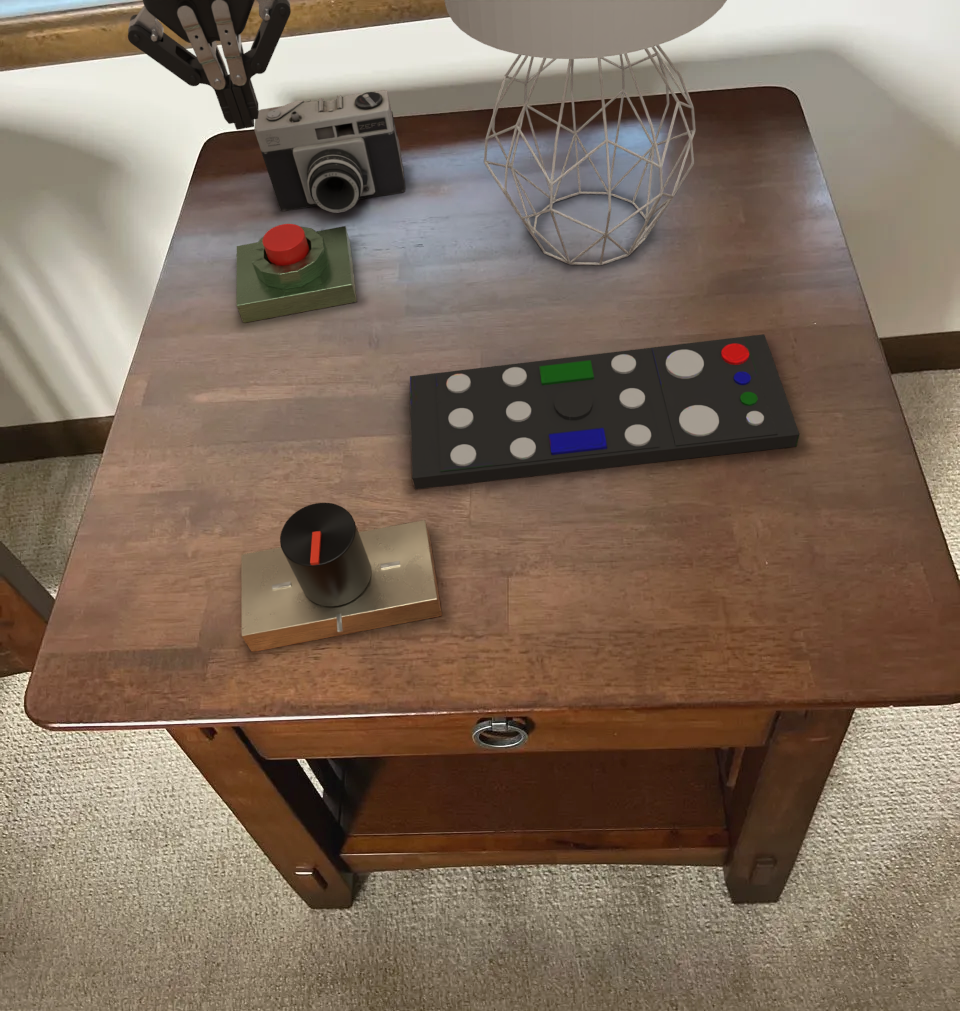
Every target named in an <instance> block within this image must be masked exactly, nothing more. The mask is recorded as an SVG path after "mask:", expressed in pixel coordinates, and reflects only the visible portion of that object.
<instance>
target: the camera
mask: <svg viewBox="0 0 960 1011" xmlns="http://www.w3.org/2000/svg"><path fill="white" fill-rule="evenodd" d="M389 96H390V95H389V92H388V90H386V89H379V90H374V91H365V92H361V93H355V94H348V95H343V96H342V95H341V94H339V95H336V98H335V99H330V100H324V97H320V98H319V99H318V100H311V99H307V100H303V99H301V100H294V101H291V102H289V103H287V104H285V105H281V106H280V105H279V106H274V107H268V108H262V109H259V114H258V119H254V127H253V128H254V133H255V136H256V139H257V143H258V146H259V149H260V153H261V156H262V159H263V162H264V165H265V168H266V171H267V173H268V177H269V180H270V183H271V186H272V189H273V192H274V195H275V198H276V201H277V204H278V207H279V210H280V211H281V212H284V211H285V212H286V211H293V210H298V209H304V208H312V207H319V208H320V209H322V210H323V211H326V212H329V213H335V214H337V213H338V214H339V213H344V212H347V211H349V210H351V209H353V207H355V206H356V205H357V204H358V202H359V200H364V199H370V198H377V197H383V196H389V195H395V194H400V193H401V194H402V193H405V191H406V181H405V170H404V169H405V168H404V165H403V159H402V151H401V145H400V140H399V136H398V132H397V129H396V123H395V118H394V113H393V110H392V107H391V101H390V97H389Z"/></svg>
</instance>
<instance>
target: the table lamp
mask: <svg viewBox="0 0 960 1011" xmlns="http://www.w3.org/2000/svg"><path fill="white" fill-rule="evenodd" d="M727 1H728V0H444V4H445V9H446V12H447V14H448V16H449V18H450V19H451V21H452V23H453V24H454V25H455V26H456V27H457V28H458V29H459V30H460V31H462V33H464V34H466V35H467V36H469V37H470V38H471V39H474V40H476V41H478V42H479V43H481V44H483V45H486V46H488V47H490V48H494V49H496V50H499V51H503V52H506V53H511V54H514V55H517V57H515V59H514V61H513V62H512V64H511V65H510V66H509V68H508V70H507V71H506V73H505V74H504V77H503V78H502V82H501V85H500V88H499V90H498V93H497V96H496V99H495V102H494V105H493V107H492V109H493V110H492V116H491V119H490V122H489V126H488V129H487V132H486V136H485V138H484V149H483V150H484V152H483V163H484V165H485V168H487V170H488V171H489V173H490V175H491V176H492V178H493V179H494V180H495V183H496V185H497V186H498V187H499V189H500V190H501V192H502V194H503V195H504V197H505V198H506V199H507V201H508V203H509V204H510V206H511V207H512V209H513V210H514V211H515V213H516V214H517V216H518V217H519V219H520V220H521V222H522V223H523V225H524V226H525V228H526V229H527V232H528V233H529V234H530V235H531V236H532V238H533V239H534V241H535V242H536V244H537V246H538V247H539V249H540V250H541V251H542V253H543V254H544V255H547V256H549V257H551V258H553V259H555V260H558V261H560V262H563V263H564V264H567V265H576V266H577V265H579V266H580V265H581V266H603V265H606V264H609V263H613V262H614V261H617V260H620V259H623V258H628V257H629V256H630V255H631V254H633V252H634V251H636V250H637V248H638V247H640V246H641V244H643V242H645V241H646V239H647V237H648V236H649V235H650V233H651V231H652V230H653V229H654V228H655V226H656V225H657V223H658V221H659V220H660V218H661V217H662V216H663V214H664V212H665V211H666V210H667V208H668V207H669V205H670V204H671V202H672V201H673V199H674V198H675V195H676V194H677V192H678V191H679V189H680V188H681V186H682V184H684V181H685V179H686V178H687V176H688V175H689V173H690V171H691V170H692V169H693V167H694V165H695V156H694V146H693V139H694V137H695V134H696V132H697V131H696V130H697V129H696V118H695V107H694V104H693V101H692V100H691V97H690V93H689V91H688V89H687V86H686V83H685V81H684V78H683V74H681V72H680V71H679V70H678V68H677V67H676V66H675V64H674V63H673V62H672V60H671V59H670V58H669V56H668V55H667V54H666V52H665V51H664V49H663V48H662V46H660V45H662V44H665V43H667V42H670V41H671V42H672V41H673V40H675V39H678V38H680V37H682V36H684V35H686V34H689V33H690V32H692V31H693V30H695V29H697V28H698V27H701V26H702V25H703V24H705V23H706V22H707V21H709V20H710V19H711V18H712V17H714V16H715V15H716V14H717V13H718V12H719V11H720V10H721V9H722V8H723V6H724V5H725V4H726V3H727ZM650 48H651V49H652V51H653V52H654V53H651V51H650V50H649V49H650ZM643 50H644V51H645V53H646V54H647V56H645V57H642V58H641V59H639V60H636V61H634V62H632V63H631V61H630V58H629V55H628V54H630V53H635V52H638V51H643ZM618 55H619V60H620V61H619V62H620V65H619V64H618V63H616V62H614V61H612V60H609V59H608V57H615V56H618ZM661 55H662V56H661ZM522 56H524V58H523V59H522V61H521V63H520V64H519V66H518V68H517V69H516V71H515V73H514V74H513V76H512V77H511V76H509V75H510V74H511V72H512V70H513V69H514V68H515V66H516V64H517V63H518V61H519V60H520V59H521V57H522ZM623 56H624V59H625V61H626V63H627V65H625V64H624V59H623ZM529 57H530V61H529V65H528V68H527V73H526V77H525V80H521V79H518V78H517V76H518V74H519V72H520V71H521V69H522V68H523V66H524V64H525V63H526V62H527V59H528V58H529ZM655 57H656V58H657V61H658V63H657V62H656V59H655ZM663 57H664V58H663ZM534 58H541V59H542V60H541V63H540V65H539V68H538V70H537V71H536V72H535V73H534V74H533V75H532V76H531V77H530V74H531V70H532V66H533V63H534ZM547 59H549V60H550V61H548V62H547V63H546V61H547ZM583 59H586V60H587V59H597V67H598V77H599V86H600V87H599V88H600V89H599V90H600V97H601V98H600V100H601V108H600V109H599V110H598V111H597V112H595V113H594V114H593V115H592V116H591V117H590V118H588V120H587V121H586V122H584V123H583V124H582V125H581V126H580V127H579V128H578V129H577V124H576V110H575V99H574V97H575V95H574V64H575V63H574V62H575V60H583ZM664 59H665V60H664ZM557 60H568V63H567V69H566V75H565V80H564V86H563V91H562V98H561V103H560V107H559V108H560V109H559V115H558V119H557V121H556V120H555V119H553V118H551V117H550V116H548V115H546V114H544V113H543V112H541V111H540V110H537V108H536V109H535V108H534V107H533V106H531V105H528V103H529V101H530V99H531V97H532V94H533V92H534V90H535V87H536V86H537V85H536V84H537V83H538V80H539V77H540V75H541V73H542V72H543V71H544V70H545V69H547V68H548V67H549V66H550V65H552V64H553V63H554V62H555V61H557ZM647 60H650V61H651V63H652V64H653V66H654V68H655V69H656V70H657V73H658V74H659V77H660V78H661V80H662V81H663V83H664V84H665V98H666V105H665V109H664V111H663V114H662V117H661V119H660V123H659V126H658V128H657V132H656V133H655V129H654V125H653V121H652V119H651V116H650V113H649V110H648V108H647V106H646V102H645V100H644V96H643V94H642V91H641V88H640V86H639V83H638V79H637V77H636V75H635V71H634V69H633V66H636V65H638V64H641V63H643V62H646V61H647ZM602 61H605V62H607V63H608V64H610V65H612V66H614V67H616V68H618V69H619V70H621V86H622V87H621V88H622V89H621V90H620V91H619V92H617V93H616V94H615V95H614V96H613V97H612V98H610V100H609V101H608V102H606V103H605V91H604V79H603V69H602ZM665 61H667V63H668V65H670V67H671V68H672V69H673V71H674V72H675V74H676V75H677V76H678V78H679V82H680V83H679V82H678V80H677V79H676V78H675V76H674V74H673V73H672V71H671V69H670V68H669V67H668V65H667V63H666V62H665ZM658 64H659V65H658ZM627 69H629V72H630V75H631V77H632V80H633V82H634V86H635V89H636V92H637V94H638V96H639V99H640V102H641V105H642V107H643V110H644V113H645V116H646V118H647V121H648V124H649V127H650V132H651V136H650V134H649V132H648V130H647V128H646V126H645V124H644V122H643V121H642V119H641V117H640V115H639V113H638V111H637V110H636V107H635V106H634V104H633V102H632V100H631V98H630V96H629V94H628V93H627V90H626V84H625V82H626V81H625V70H627ZM665 70H666V72H667V73H668V75H669V77H670V78H671V80H672V81H673V83H674V84H675V86H676V88H677V89H678V90H679V91H680V94H681V95H682V96H683V98H684V100H685V102H686V103H685V102H683V101H680V100H679V98H678V96H677V94H676V93H675V91H674V89H673V88H672V86H671V85H670V83H669V81H668V77H667V75H666V72H665ZM507 79H508V80H510V81H509V82H508V84H507V86H506V87H505V84H506V82H507ZM532 80H533V82H532V84H531V87H530V90H529V92H528V84H529V83H530V82H531V81H532ZM569 80H570V100H571V114H572V126H573V130H572V129H570V127H569V128H568V127H567V126H565V125H564V124H562V119H563V115H564V114H563V113H564V107H565V102H566V96H567V90H568V84H569ZM513 82H516V83H520V84H523V85H524V90H523V91H524V96H523V106H522V108H521V111H520V112H519V113H520V114H519V116H518V118H517V121H516V123H515V124H514V125H512V126H510V127H508V128H505V129H503V130H500V131H498V132H496V131H495V128H496V125H495V124H496V116H497V113H498V110H499V107H500V105H501V103H502V101H503V99H504V97H505V96H506V94H507V93H508V91H509V89H510V87H511V86H512V84H513ZM680 84H681V85H680ZM681 86H682V87H681ZM504 87H505V89H504ZM670 94H671V96H672V97H673V99H674V101H675V102H676V103H675V107H674V111H673V114H672V119H671V122H670V126H669V130H668V133H667V136H666V139H665V140H662V141H660V142H657V141H658V139H659V136H660V132H661V129H662V127H663V124H664V121H665V118H666V115H667V113H668V109H669V106H670ZM620 95H621V97H620V104H619V112H618V120H617V126H616V132H615V138H614V141H612V140H609V134H608V123H607V113H606V108H607V107H608V106H609V105H610V104H611V103H613V101H615V100H616V99H617V98H618V97H619V96H620ZM624 97H625V98H626V100H627V101H628V104H629V105H630V107H631V109H632V111H633V113H634V115H635V117H636V119H637V121H638V122H639V124H640V127H641V128H642V130H643V132H644V134H645V136H646V137H647V139H648V141H649V144H650V145H651V146H650V147H649V149H648V150H646V151H645V153H644V154H643V155H640V154H638V153H636V152H634V151H632V150H631V149H628V148H626V147H624V146H622V145H620V144H618V141H619V136H620V135H619V134H620V128H621V127H620V126H621V120H622V112H623V104H624ZM682 106H683V107H686V108H688V109H690V112H691V124H692V129H691V130H690V128H689V125H688V122H687V119H686V116H685V113H684V110H683V108H682ZM529 110H530V111H532V112H534V113H536V114H537V115H539V116H541V117H542V118H544V119H546V120H548V121H549V122H551V123H553V124H555V125H556V130H555V131H556V132H555V137H554V145H553V156H552V164H551V174H550V176H549V175H548V173H547V170H546V167H545V163H544V160H543V157H542V153H541V151H540V147H539V144H538V140H537V137H536V133H535V130H534V127H533V122H532V119H531V115H530V112H529ZM678 110H679V113H680V116H681V119H682V121H683V124H684V127H685V130H686V132H683V133H680V134H678V135H675V136H672V132H673V128H674V125H675V121H676V118H677V113H678ZM525 113H526V116H527V120H528V124H529V127H530V128H529V129H530V131H531V133H532V135H531V136H532V138H533V141H534V145H535V148H536V151H537V155H538V156H537V155H536V153H535V151H534V149H533V148H532V146H531V145H530V143H529V141H528V140H527V138H526V136H525V134H524V133H523V131H522V127H523V121H524V117H525ZM600 113H602V119H603V120H602V122H603V131H604V140H603V141H602V142H601V143H599V144H598V145H597V146H595V148H593V149H592V150H590V151H589V152H588V151H587V150H586V147H585V146H584V145H583V142H582V140H581V139H580V137H579V135H578V133H580V132H581V131H582V130H583V129H584V128H585V127H586V126H587V125H588V124H590V122H592V121H593V120H594V119H595V118H596V117H597V116H598V115H599V114H600ZM561 128H562V129H563V130H565V131H567V132H569V133H571V134H572V138H571V141H570V143H569V148H568V150H567V154H566V156H565V159H564V163H563V167H562V169H561V172H560V176H558V177H557V178H555V168H556V162H557V151H558V142H559V135H560V129H561ZM512 130H513V133H512V138H511V142H510V146H509V150H508V154H507V153H506V151H505V149H504V147H503V145H502V143H501V140H500V139H499V135H502V134H505V133H507V132H509V131H512ZM491 131H492V134H491ZM685 136H688V139H687V141H686V142H685V144H684V147H683V149H682V151H681V153H680V155H679V157H678V159H677V160H676V162H675V164H674V166H673V168H672V170H671V171H670V173H669V175H668V177H667V179H666V180H665V182H664V180H663V166H664V162H665V159H666V156H667V151H668V147H669V144H670V142H672V141H674V140H676V139H679V138H682V137H685ZM520 137H521V138H522V140H523V141H524V143H525V145H526V147H527V148H528V150H529V152H530V153H531V155H532V157H533V158H534V160H535V162H536V163H537V165H538V167H539V169H540V170H541V172H542V174H543V175H544V177H545V181H546V184H547V187H548V192H549V194H548V193H547V192H546V191H544V190H543V189H542V188H540V187H539V186H537V184H535V183H534V182H533V181H531V180H530V179H529V178H527V177H526V175H523V174H522V173H521V172H520V171H519V170H517V169H516V168H515V167H514V162H515V158H516V154H517V150H518V145H519V140H520ZM651 137H652V138H651ZM493 138H495V140H496V142H497V144H498V146H499V148H500V150H501V153H502V154H503V156H504V158H505V160H506V162H505V164H504V163H498V162H495V161H490V160H487V159H488V147H489V146H488V144H489V140H491V139H493ZM578 144H579V145H580V147H581V149H582V150H583V152H584V156H583V157H582V158H581V159H580V160H579V151H578ZM609 144H610V145H612V146H614V147H613V154H612V159H611V167H610V150H609V148H610V147H609ZM573 145H574V146H575V147H574V150H575V160H576V161H575V164H573V165H572V166H571V167H569V168H568V169H567V170H566V167H567V164H568V162H569V158H570V154H571V151H572V148H573ZM604 145H605V157H606V174H607V186H606V184H605V181H604V180H603V178H602V176H601V175H600V172H599V171H598V169H597V168H596V166H595V164H594V162H593V160H592V158H591V156H592V155H593V154H594V153H596V152H597V151H598V150H599V149H600V148H601V147H603V146H604ZM661 145H664V149H663V152H662V155H661V156H660V152H659V147H658V146H661ZM617 148H618V149H620V150H622V151H624V152H626V153H628V154H630V155H632V156H634V157H635V158H638V160H637V161H636V162H635V163H634V164H633V165H632V166H631V167H630V168H629V170H628V171H626V172H625V174H624V175H622V177H621V178H620V179H619V180H618V181H617V182H616V183H615V184H613V186H612V181H613V175H614V167H615V160H616V154H617ZM689 152H690V161H691V163H690V165H689V166H688V168H687V170H686V171H685V173H684V175H683V176H682V174H683V170H684V168H685V164H686V161H687V159H688V155H689ZM647 155H648V157H647V158H646V156H647ZM655 156H656V159H657V163H656V162H654V159H655ZM538 157H539V158H538ZM682 158H683V159H682ZM586 159H587V160H588V162H589V163H590V165H591V167H592V169H593V170H594V171H595V174H596V175H597V178H598V180H599V181H600V182H601V185H602V187H603V188H604V190H605V191H582V190H581V188H582V187H581V177H580V176H581V175H580V164H582V163H583V162H584V161H585V160H586ZM681 160H682V162H681V166H680V169H679V172H678V174H677V176H676V180H675V184H674V186H673V189H672V193H671V194H669V193H667V192H664V191H665V190H666V187H667V185H668V184H669V182H670V180H671V178H672V176H673V175H674V173H675V171H676V170H677V168H678V166H679V163H680V161H681ZM642 161H644V162H645V165H644V168H643V170H642V172H641V173H642V174H641V176H640V179H639V181H638V184H637V186H636V190H635V192H634V195H633V198H632V200H631V199H628V198H625V197H623V196H620V195H617V194H615V193H612V192H613V191H614V190H615V189H616V188H617V187H618V186H619V185H620V184H621V182H622V181H623V180H624V179H626V177H627V176H628V175H629V174H631V172H632V171H633V170H634V169H635V168H636V167H637V166H638V165H639V164H640V163H641V162H642ZM649 164H650V168H649V175H648V176H649V178H648V187H647V196H646V197H647V198H646V203H645V204H643V205H642V206H641V207H639V206H638V205H637V203H635V201H636V198H637V197H638V193H639V191H640V188H641V185H642V183H643V179H644V177H645V174H646V172H647V169H648V166H649ZM490 165H491V166H496V167H501V168H505V169H504V186H503V185H502V183H501V181H500V180H499V179H498V177H497V176H496V174H495V172H494V171H493V169H492V167H491V166H490ZM654 167H655V168H658V170H659V171H658V172H659V189H660V191H659V193H658V194H657V195H656V196H653V198H651V189H652V180H653V179H652V178H653V169H654ZM575 168H576V173H577V174H576V175H577V182H578V183H577V186H578V191H577V192H575V193H571V194H568V195H565V196H561V197H558V198H557V195H558V192H559V190H560V186H561V182H562V180H563V178H564V177H565V176H567V175H568V174H569V173H570V172H571V171H573V170H574V169H575ZM509 169H510V171H511V174H512V178H513V181H514V185H515V187H516V190H517V193H518V197H519V200H520V202H521V206H522V209H523V212H524V215H525V216H523V215H522V213H521V212H520V210H519V208H518V206H517V205H516V204H515V202H514V200H513V199H512V197H511V195H510V194H509V192H508V191H507V189H508V171H509ZM518 176H519V177H521V178H522V179H523V180H525V181H526V182H527V183H529V184H530V185H531V186H532V187H534V188H535V189H536V190H538V191H539V193H541V194H542V195H544V196H545V197H546V198H548V199H549V204H548V205H546V206H545V207H544V208H543V209H542V210H541V211H538V212H537V211H536V209H535V208H534V206H533V204H532V202H531V200H530V198H529V196H528V195H527V193H526V190H525V188H524V186H523V185H522V183H521V181H520V179H519V177H518ZM681 176H682V178H681ZM554 178H555V179H554ZM680 179H681V180H680ZM555 184H556V188H555V191H554V185H555ZM521 191H522V193H523V195H524V198H525V199H526V201H527V203H528V206H529V208H530V209H531V211H532V213H531V214H528V211H527V208H526V205H525V202H524V198H523V196H522V193H521ZM578 195H607V204H608V205H607V209H608V210H607V216H606V224H605V229H604V231H601V230H600V229H598V228H595V227H594V226H591V225H589V224H586V223H584V222H582V221H581V220H578V219H576V218H573V217H571V216H569V215H567V214H565V213H562V212H561V211H558V210H556V209H554V208H553V207H554V206H553V204H555V203H558V202H560V201H563V200H566V199H568V198H571V197H575V196H578ZM612 197H615V198H617V199H620V200H622V201H625V202H627V203H630V204H632V205H633V206H634V207H635V209H637V210H636V211H634V212H632V213H631V214H630V215H629V216H627V217H626V218H624V219H623V220H622V221H621V222H619V223H618V224H616V225H615V226H614V227H612V228H611V229H610V230H609V227H610V222H611V221H610V220H611V214H612ZM662 197H667V199H666V200H665V201H664V202H662V203H661V204H660V205H659V203H660V201H661V199H662ZM650 198H651V199H650ZM651 204H652V206H651V208H650V205H651ZM658 205H659V206H658ZM643 210H645V213H644V212H643ZM658 211H659V212H658ZM657 212H658V213H657ZM546 213H550V215H551V218H552V222H553V225H554V227H555V228H554V229H555V231H556V234H557V236H558V239H559V243H560V244H561V248H562V249H563V252H564V255H565V256H564V255H563V253H562V252H561V251H559V250H558V249H557V248H556V247H555V246H554V245H553V244H552V243H551V242H550V241H548V239H547V238H545V237H544V236H543V235H542V234H541V233H540V232H539V231H538V230H537V229H536V228H537V223H538V218H539V217H540V216H541V215H542V214H546ZM638 213H639V214H640V215H641V216H642V217H643V218H644V224H643V226H642V227H641V228H640V231H639V232H638V234H637V236H636V238H635V239H634V241H633V242H632V245H631V246H630V248H629V249H628V250H627V249H625V248H624V247H623V246H622V245H621V244H619V243H618V242H617V241H616V240H615V239H613V238H612V237H611V236H610V234H611V233H613V232H614V231H615V230H617V229H618V228H620V227H621V226H622V225H624V224H625V223H626V222H628V221H630V220H631V219H632V218H633V217H634V216H636V215H637V214H638ZM656 213H657V214H656ZM555 214H556V215H559V216H561V217H563V218H565V219H568V220H569V221H571V222H575V223H576V224H578V225H581V226H583V227H585V228H587V229H590V230H592V231H594V232H596V233H598V234H600V235H601V236H600V237H599V238H597V239H596V240H595V241H593V242H592V243H591V244H590V245H589V246H587V247H586V248H585V249H583V251H581V252H580V253H579V254H577V255H576V256H575V257H573V258H572V259H571V260H570V256H569V253H568V251H567V248H566V245H565V243H564V240H563V237H562V235H561V231H560V229H559V225H558V223H557V219H556V216H555ZM655 214H656V215H655ZM654 215H655V217H654V218H653V219H652V221H651V222H650V220H651V218H652V216H654ZM533 217H534V224H533V226H532V223H531V220H530V218H533ZM648 224H649V225H648ZM536 235H537V236H538V237H539V238H540V239H541V240H542V241H543V242H544V243H546V244H547V245H548V246H549V247H550V248H551V249H552V250H553V251H554V252H555V253H556V254H557V255H558V256H557V255H556V254H553V253H551V252H548V251H546V250H545V248H544V247H543V245H542V244H541V242H540V241H539V239H538V238H537V236H536ZM607 239H608V240H609V241H610V242H612V244H614V245H615V246H616V247H617V248H618V249H620V250H621V251H622V252H623V253H624V254H621V255H618V256H616V257H613V258H610V259H607V260H604V255H605V249H606V243H607ZM602 240H603V242H602V248H601V253H600V259H599V262H591V261H590V262H589V261H586V262H583V261H582V262H581V261H580V262H579V261H577V260H579V258H581V257H582V256H583V255H584V254H586V253H587V252H588V251H590V250H591V249H592V248H593V247H595V246H596V245H597V244H598V243H600V242H601V241H602Z"/></svg>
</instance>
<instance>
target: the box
mask: <svg viewBox="0 0 960 1011" xmlns="http://www.w3.org/2000/svg"><path fill="white" fill-rule="evenodd" d="M300 227H301V228H302V229H303V230H304V233H305V236H306V239H307V242H308V246H309V252H308V254H307V256H306V257H305V258H304V259H302V260H300V261H299V262H297V263H295V264H290V265H284V266H279V265H275V264H273V263H271V262H270V261H269V259H268V257H267V254H266V251H265V248H264V245H263V242H262V241H263V237H264V236H261V238H259V240H258V241H256V242H252V243H245V244H240V245H236V288H235V290H236V298H235V300H236V303H235V304H236V305H235V306H236V308H237V311H238V314H239V316H240V318H241V320H242V323H244V324H246V323H250V322H256V321H262V320H267V319H272V318H273V319H274V318H277V317H283V316H288V315H294V314H299V313H305V312H309V311H315V310H320V309H321V310H322V309H326V308H331V307H335V306H337V307H338V306H342V305H347V304H353V303H357V301H358V299H357V290H356V281H355V276H354V275H355V273H354V265H353V256H352V248H351V241H350V237H349V234H348V230H347V226H346V225H342V226H338V227H333V228H327V229H321V230H315V229H314V228H312V227H305V226H300Z"/></svg>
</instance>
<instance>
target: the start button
mask: <svg viewBox="0 0 960 1011" xmlns="http://www.w3.org/2000/svg"><path fill="white" fill-rule="evenodd" d="M301 227H302V226H299V225H298V224H296V223H295V224H294V223H282V224H278V225H275V226H273V227H272V228H270V229H269V230H267V231H266V232H265V233H264V234H263V236H262V237H263V241H262V242H263V245H264V248H265V251H266V254H267V257H268V259H269V261H270V262H271V263H273V264H275V265H279V266H284V265H290V264H295V263H297V262H299V261H300V260H302V259H304V258H305V257H306V256H307V254H308V252H309V246H308V242H307V239H306V236H305V233H304V230H303V229H302V228H301Z"/></svg>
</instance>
